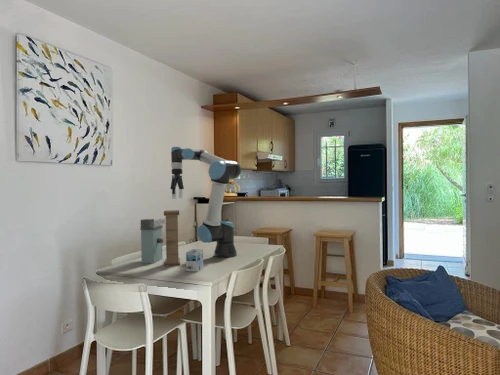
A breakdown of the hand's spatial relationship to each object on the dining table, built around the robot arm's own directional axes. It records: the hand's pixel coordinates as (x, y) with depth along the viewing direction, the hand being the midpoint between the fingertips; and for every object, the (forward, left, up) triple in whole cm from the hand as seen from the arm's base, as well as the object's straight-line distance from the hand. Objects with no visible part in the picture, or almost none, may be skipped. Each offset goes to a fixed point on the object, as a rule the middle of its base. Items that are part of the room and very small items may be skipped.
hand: (177, 198), depth 266 cm
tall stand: (-9, +36, -39) cm, 53 cm away
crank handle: (+7, +25, -17) cm, 31 cm away
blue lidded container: (+6, +29, -39) cm, 49 cm away
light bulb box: (-28, +52, -39) cm, 71 cm away
